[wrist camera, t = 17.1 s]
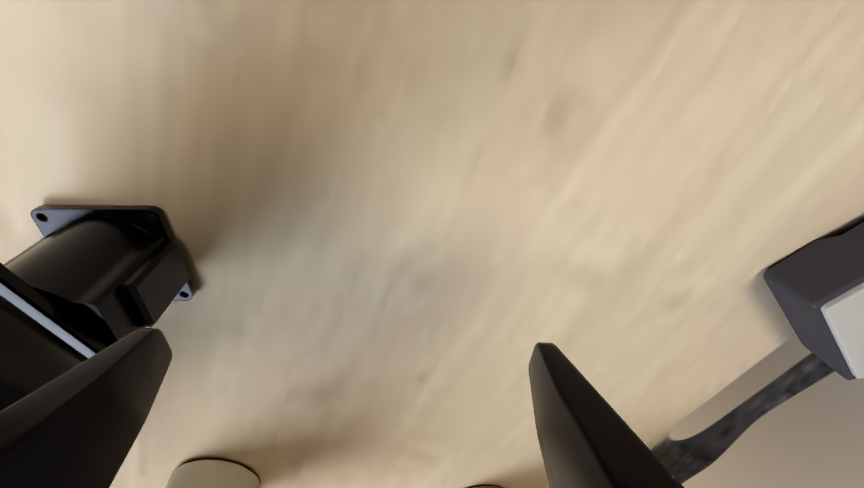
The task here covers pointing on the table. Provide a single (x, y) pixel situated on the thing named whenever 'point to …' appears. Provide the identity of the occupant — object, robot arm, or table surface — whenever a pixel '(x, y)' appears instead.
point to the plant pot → (486, 487)
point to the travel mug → (212, 475)
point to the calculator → (826, 299)
